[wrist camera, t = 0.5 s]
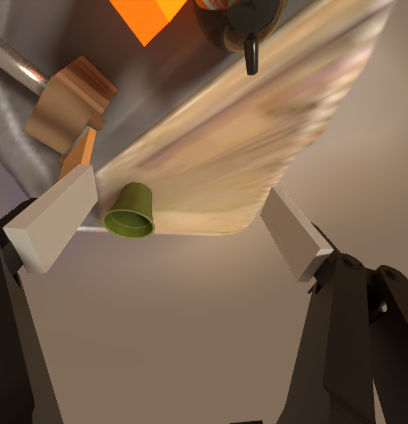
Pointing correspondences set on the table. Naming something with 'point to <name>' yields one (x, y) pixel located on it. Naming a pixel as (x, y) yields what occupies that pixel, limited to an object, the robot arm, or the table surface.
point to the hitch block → (70, 105)
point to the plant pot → (131, 213)
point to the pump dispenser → (239, 25)
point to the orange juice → (147, 15)
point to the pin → (22, 69)
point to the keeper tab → (79, 151)
